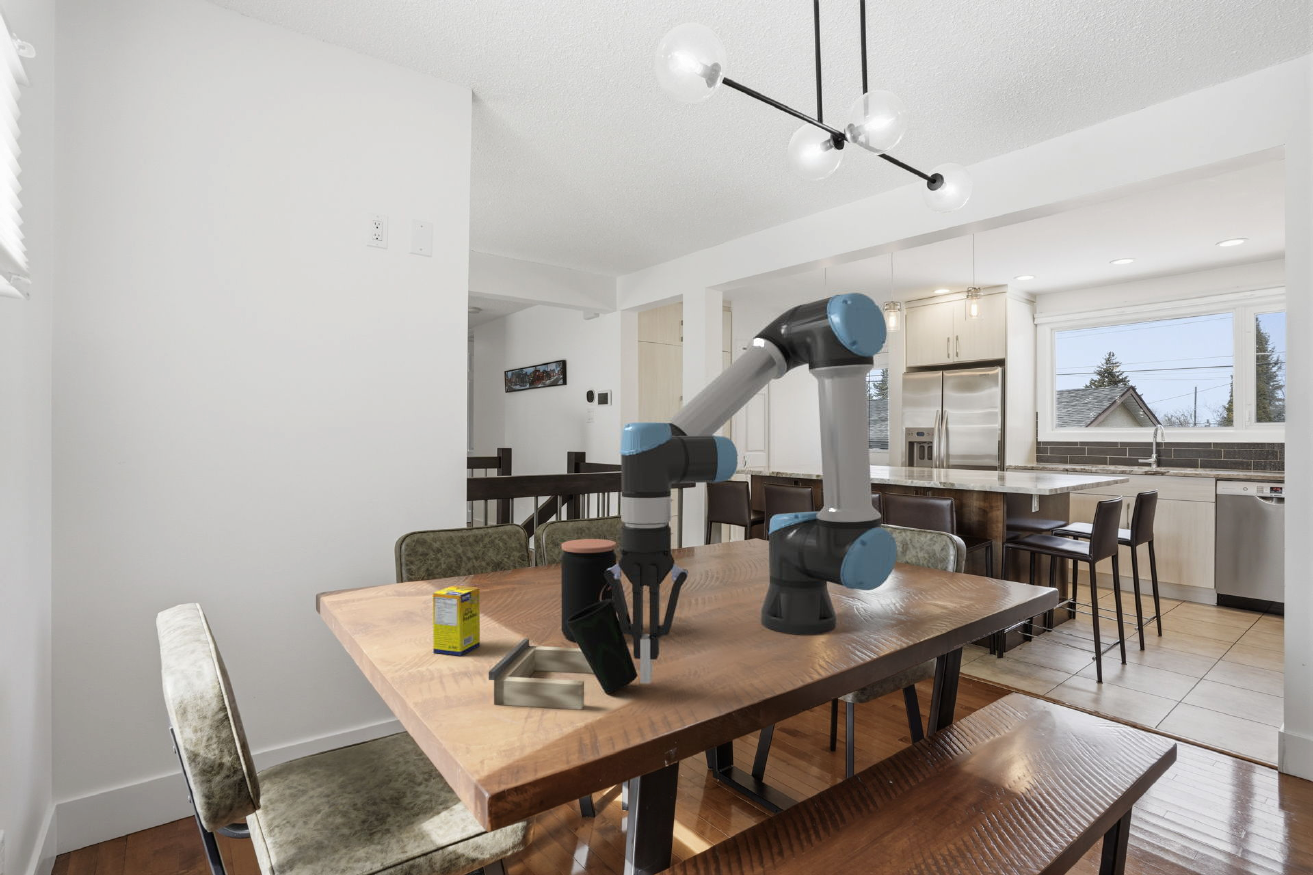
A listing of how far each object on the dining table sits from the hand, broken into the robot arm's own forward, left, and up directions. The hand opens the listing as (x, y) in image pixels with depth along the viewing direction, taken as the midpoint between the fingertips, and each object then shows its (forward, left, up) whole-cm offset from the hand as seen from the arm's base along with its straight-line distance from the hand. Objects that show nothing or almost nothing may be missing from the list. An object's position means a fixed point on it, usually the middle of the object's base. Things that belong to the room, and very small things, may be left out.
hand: (646, 679), depth 94 cm
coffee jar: (+15, -25, -2) cm, 30 cm away
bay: (+14, 0, -2) cm, 14 cm away
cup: (+4, 0, -1) cm, 4 cm away
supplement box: (+37, -14, -2) cm, 40 cm away
